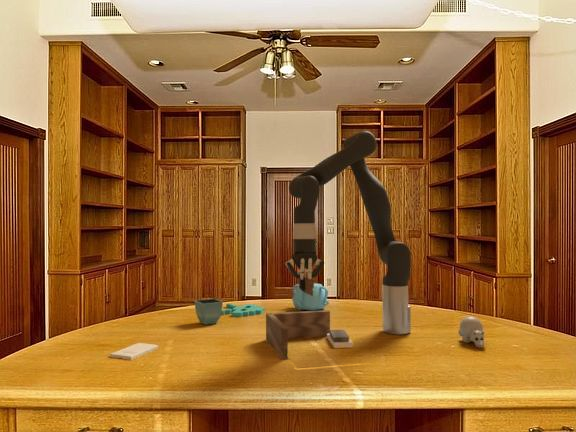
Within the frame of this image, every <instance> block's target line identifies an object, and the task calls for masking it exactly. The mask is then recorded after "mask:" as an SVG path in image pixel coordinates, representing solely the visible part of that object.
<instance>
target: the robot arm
mask: <svg viewBox="0 0 576 432" xmlns="http://www.w3.org/2000/svg"><path fill="white" fill-rule="evenodd" d="M377 145H378V144H377V138H376V137H375V136H374V134H373V133H372V132H370V131H368V130H364V131H358V132H357V133H355V134H352V135H350V136H348V137H346V138H345V139H344V141H343V143H342V149H341V150H338V151H337V152H335V153H333V154H331V155H329V156H328V157H327V158H324V159H323V160H322V161H320V162H319V163H317V164H315V166H313V167H312V168H310V169H309V170H306V171H304V172H302V173H300V174H299V175H297V176H295V177H294V178H293V179H292V180H291V181H290V182H289V186H288V191H289V194H290V195H291V196H292V197H294V198H296V199H300V201H299V204H298V205H296V206H294V208H293V226H292V227H293V228H292V250H293V251H292V256H291V258H290V259H289V260H288V261H285V263H284V265H285V266H286V268H287V269H288V271H289V272H290V274H291V276H292V277H293V278H295V279H297V278H298V279H299V289H301V291H305V280H304V277H305V278H309V279H313V278H317V276H318V275H319V273H320V271H321V270H322V268H323V266H324V265H325V261H324V260H321V259H319V258H318V257H319V256H318V255H317V228H316V208H317V204H318V200H319V197H320V196H319V195H320V189H321V188H320V187H321V186H324V185H327V184H328V183H329V182H330V181H332V180H333V179H334V178H336V177H337V176H338V175H339V174H341V173H342V172H343V171H344V170H346V169H347V168H349V167H350V169H351V171H352V174H353V177H354V178H355V182H356V184H357V188H358V190H359V193H360V195H361V201H362V203H363V205H364V208H365V212H366V214H367V216H368V220H369V224H370V225H371V228H372V231H373V234H374V239H375V243H376V248H377V253H378V256H379V259H380V260H381V262H382V263H383V264H385V265H386V266H387V267H386V274H385V275H384V276H382V332H383V333H386V334H390V335H406V334H408V333H410V334H411V332H412V331H411V330H412V327H411V326H412V321H411V320H412V315H411V314H412V313H411V312H412V311H411V309H412V307H411V306H410V305H409V281H410V278H411V269H412V268H411V265H412V264H411V262H412V257H411V256H412V254H411V250H410V248H409V246H408V245H407V244H406V243H404V242H401V241H397V239H396V237H395V233H394V232H393V229H392V223H391V220H392V206H391V201H390V198H389V195H388V193H387V189H386V187H385V186H384V185H383V183H382V182H381V180H379V179H378V178H377V177H376V176H375V175H374V174H373V173H372V172H371V171H370V169H369V166H368V164H367V161H366V159H365V158H367V157H369V156H371V155H372V154H373V153H374V152H375V151H376V149H377ZM294 264H295V266H296V267H297V271H296V269H295V268H294ZM314 265H315V267H314V268H313V266H314ZM304 275H305V276H304Z"/></svg>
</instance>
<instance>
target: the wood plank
mask: <svg viewBox="0 0 576 432" xmlns="http://www.w3.org/2000/svg"><path fill="white" fill-rule="evenodd" d="M296 280H297V284H299V279H298V278H296ZM304 280H305V291H303V292H305V293H307V294H309V295H311V296H313V290H312V289H313V288H314V283H316V282H315V281H316V279H313V278H312V279H309V278H306V276H304Z"/></svg>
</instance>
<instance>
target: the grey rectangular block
mask: <svg viewBox="0 0 576 432" xmlns="http://www.w3.org/2000/svg"><path fill="white" fill-rule="evenodd" d="M330 336H331V338H332V340H333V342H349V339H350V336H349V335H348V334H347V332H346V330H345V329H330Z"/></svg>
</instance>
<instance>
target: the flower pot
mask: <svg viewBox="0 0 576 432" xmlns="http://www.w3.org/2000/svg"><path fill="white" fill-rule="evenodd" d="M223 303H224V301H222V300H220V299H216V298H208V299H207V298H206V299H197V300H196V299H195V300H194V306H195V314H196V318H197V319H198V321H199V323H200V324H202V325H205V326H207V325H215V324H217V323H218V322H219V321H220V318H221V316H222V315H221V312H222V310H223Z"/></svg>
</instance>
